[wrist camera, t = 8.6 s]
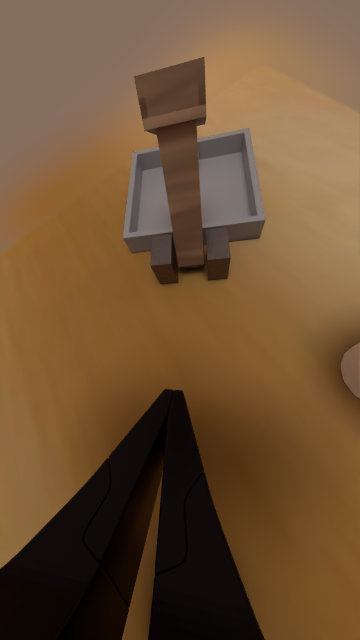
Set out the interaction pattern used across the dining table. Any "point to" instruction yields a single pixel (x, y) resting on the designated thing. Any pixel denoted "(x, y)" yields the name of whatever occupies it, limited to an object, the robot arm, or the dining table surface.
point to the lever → (178, 147)
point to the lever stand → (167, 261)
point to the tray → (215, 191)
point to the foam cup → (352, 369)
